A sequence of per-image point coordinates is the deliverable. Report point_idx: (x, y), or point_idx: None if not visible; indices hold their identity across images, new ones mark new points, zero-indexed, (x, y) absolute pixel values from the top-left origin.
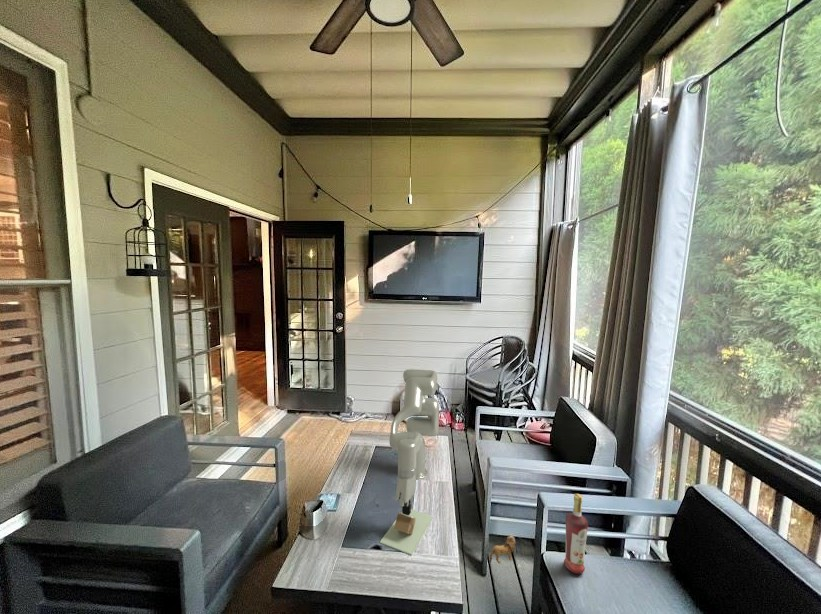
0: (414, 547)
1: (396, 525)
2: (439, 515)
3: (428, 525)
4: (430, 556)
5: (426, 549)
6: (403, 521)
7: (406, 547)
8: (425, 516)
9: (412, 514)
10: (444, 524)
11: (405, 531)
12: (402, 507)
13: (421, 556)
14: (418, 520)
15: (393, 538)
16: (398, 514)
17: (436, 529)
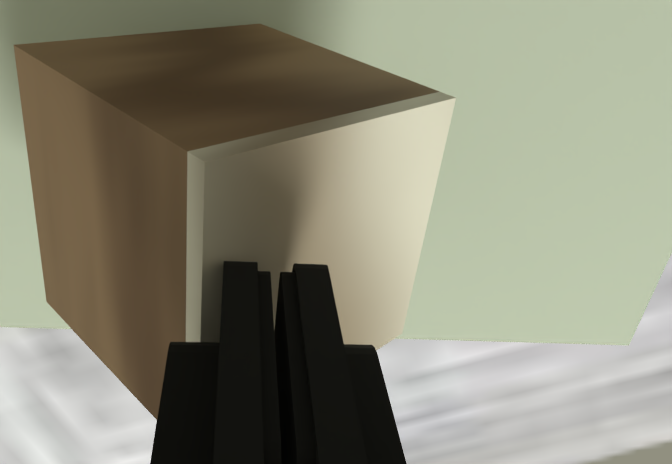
0: (60, 319)
1: (48, 103)
2: (661, 373)
3: (473, 335)
4: (65, 454)
5: (130, 404)
6: (118, 269)
7: (2, 239)
8: (617, 271)
9: (641, 106)
10: (531, 441)
11: (49, 278)
12: (220, 373)
13: (12, 394)
14: (529, 220)
15: (41, 6)
16: (171, 160)
17: (442, 404)
